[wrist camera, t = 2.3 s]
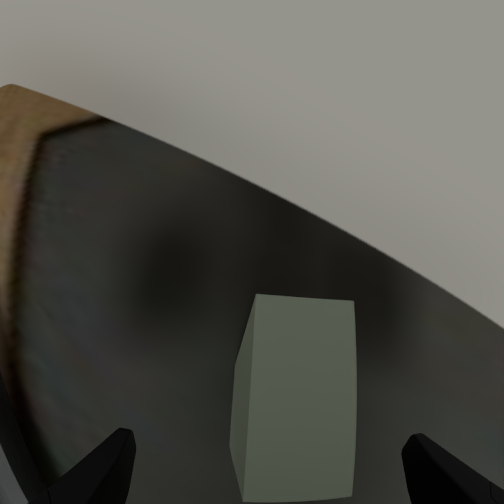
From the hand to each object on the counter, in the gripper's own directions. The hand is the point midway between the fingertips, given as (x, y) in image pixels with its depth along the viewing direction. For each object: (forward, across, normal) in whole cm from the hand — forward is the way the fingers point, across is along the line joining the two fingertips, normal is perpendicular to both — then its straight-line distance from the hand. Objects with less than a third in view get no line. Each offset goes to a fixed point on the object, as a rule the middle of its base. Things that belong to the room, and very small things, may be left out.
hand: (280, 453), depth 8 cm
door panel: (+8, 0, +6) cm, 9 cm away
